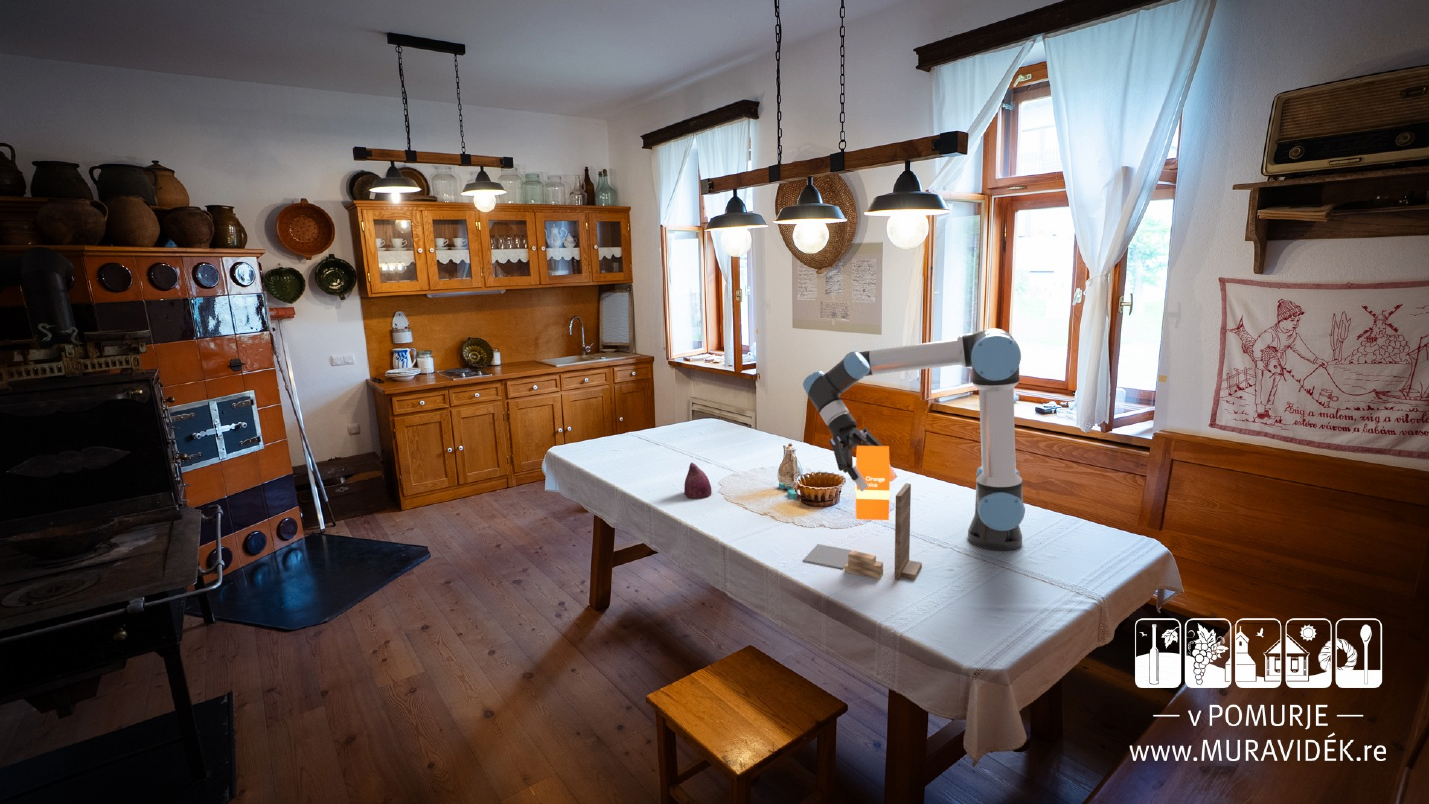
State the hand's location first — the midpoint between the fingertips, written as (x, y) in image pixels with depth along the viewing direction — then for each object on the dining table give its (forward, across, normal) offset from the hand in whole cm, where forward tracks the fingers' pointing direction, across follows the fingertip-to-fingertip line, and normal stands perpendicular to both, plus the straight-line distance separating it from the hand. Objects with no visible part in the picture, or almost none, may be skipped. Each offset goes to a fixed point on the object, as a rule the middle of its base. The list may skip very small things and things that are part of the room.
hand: (879, 484), depth 182 cm
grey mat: (+8, +6, -27) cm, 28 cm away
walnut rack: (+19, +1, -16) cm, 25 cm away
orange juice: (+5, 0, -9) cm, 10 cm away
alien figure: (-22, -28, -57) cm, 68 cm away
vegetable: (-41, +5, -76) cm, 87 cm away
